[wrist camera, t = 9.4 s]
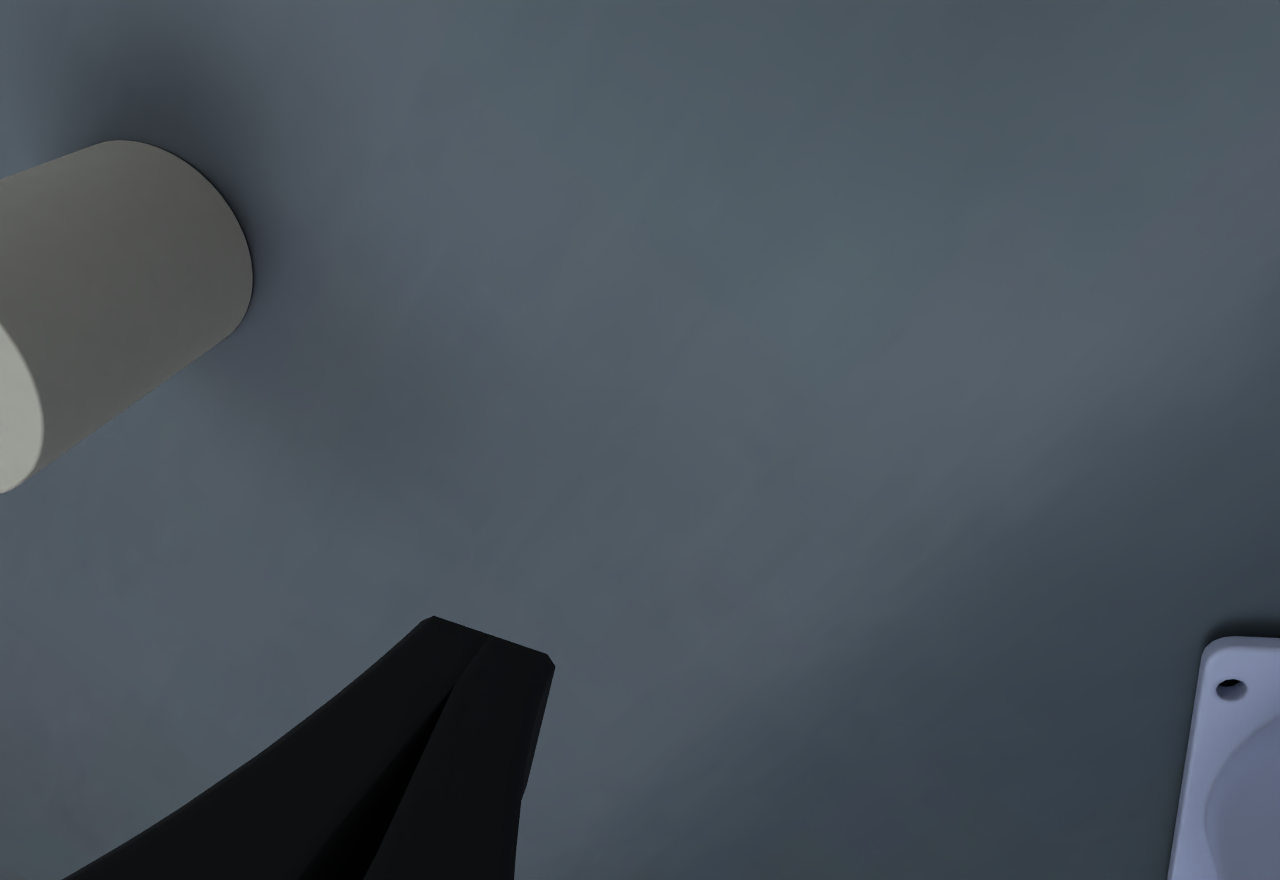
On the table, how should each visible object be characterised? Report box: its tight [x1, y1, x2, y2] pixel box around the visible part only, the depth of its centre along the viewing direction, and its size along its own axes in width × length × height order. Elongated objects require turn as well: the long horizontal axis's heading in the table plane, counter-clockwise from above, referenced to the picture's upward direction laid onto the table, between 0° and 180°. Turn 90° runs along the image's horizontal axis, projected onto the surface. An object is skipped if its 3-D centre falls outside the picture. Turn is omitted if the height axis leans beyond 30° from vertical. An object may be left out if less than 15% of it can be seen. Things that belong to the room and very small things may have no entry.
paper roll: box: [0, 140, 253, 494], centre depth 19 cm, size 6×4×4 cm
